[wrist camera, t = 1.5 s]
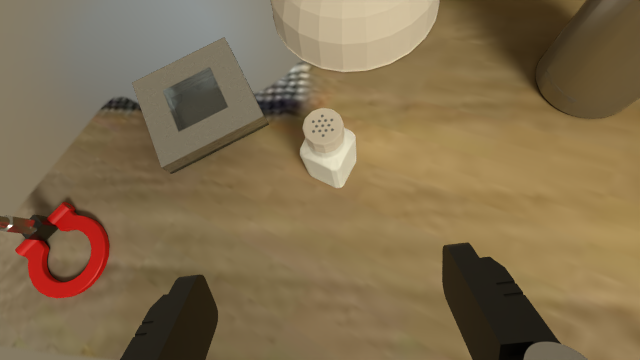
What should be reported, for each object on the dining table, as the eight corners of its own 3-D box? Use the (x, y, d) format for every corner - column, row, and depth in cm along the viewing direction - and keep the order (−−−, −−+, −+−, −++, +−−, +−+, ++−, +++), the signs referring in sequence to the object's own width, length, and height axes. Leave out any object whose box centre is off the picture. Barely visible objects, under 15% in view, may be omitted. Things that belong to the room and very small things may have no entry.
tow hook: (127, 251, 35) (77, 196, 37) (5, 239, 23) (-59, 159, 25) (67, 315, 34) (18, 254, 36) (-98, 340, 21) (-156, 245, 24)
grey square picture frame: (230, 48, 41) (224, 37, 39) (268, 124, 37) (263, 115, 35) (142, 92, 40) (132, 82, 39) (171, 173, 37) (161, 167, 35)
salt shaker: (307, 175, 35) (288, 137, 26) (325, 143, 35) (312, 95, 26) (341, 191, 34) (333, 157, 25) (358, 158, 34) (357, 114, 25)
